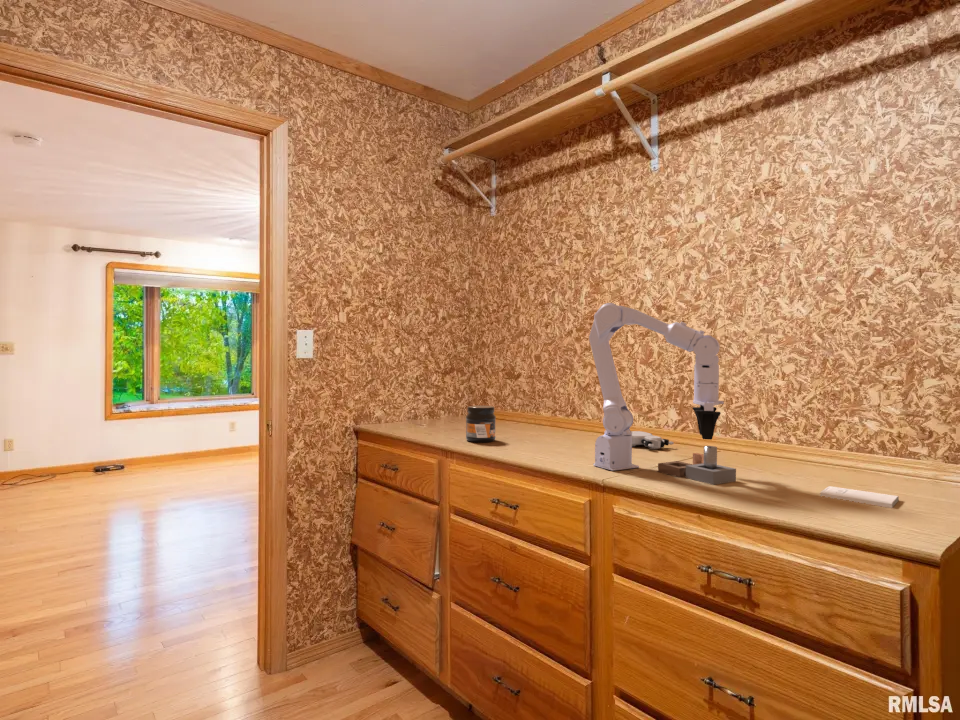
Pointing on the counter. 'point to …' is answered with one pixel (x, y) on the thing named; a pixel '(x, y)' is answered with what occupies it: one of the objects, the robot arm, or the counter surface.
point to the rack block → (711, 474)
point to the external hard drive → (860, 496)
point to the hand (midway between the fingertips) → (705, 437)
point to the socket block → (673, 468)
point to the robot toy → (648, 440)
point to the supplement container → (480, 424)
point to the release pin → (698, 458)
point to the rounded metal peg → (710, 457)
